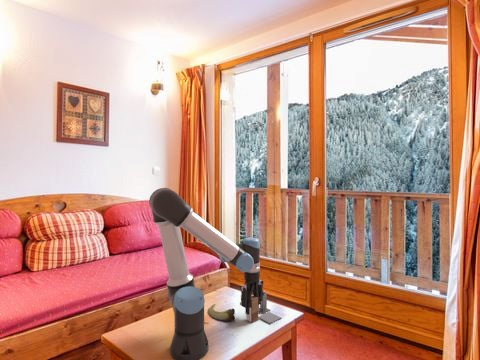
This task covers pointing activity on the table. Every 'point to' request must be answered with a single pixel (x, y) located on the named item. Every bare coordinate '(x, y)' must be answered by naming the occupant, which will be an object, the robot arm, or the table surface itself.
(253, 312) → the tan brick
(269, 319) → the mat
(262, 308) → the grey lever handle
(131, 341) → the table surface
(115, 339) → the table surface
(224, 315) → the claw
